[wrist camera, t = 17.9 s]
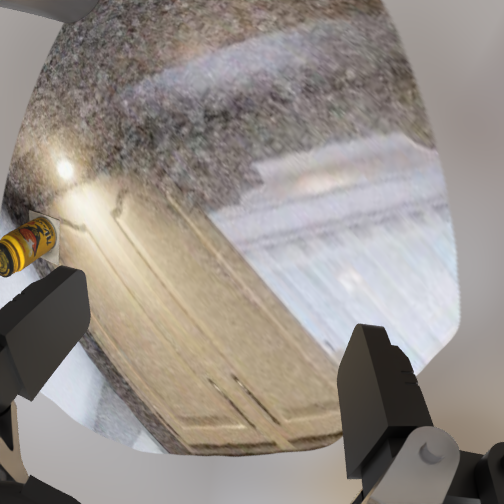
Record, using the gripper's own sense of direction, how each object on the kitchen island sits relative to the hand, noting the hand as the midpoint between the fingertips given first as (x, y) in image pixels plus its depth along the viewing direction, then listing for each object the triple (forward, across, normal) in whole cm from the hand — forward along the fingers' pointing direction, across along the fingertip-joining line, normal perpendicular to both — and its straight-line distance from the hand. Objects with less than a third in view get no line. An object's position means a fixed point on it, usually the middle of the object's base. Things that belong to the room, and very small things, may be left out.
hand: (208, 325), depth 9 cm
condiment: (+33, +36, +16) cm, 52 cm away
